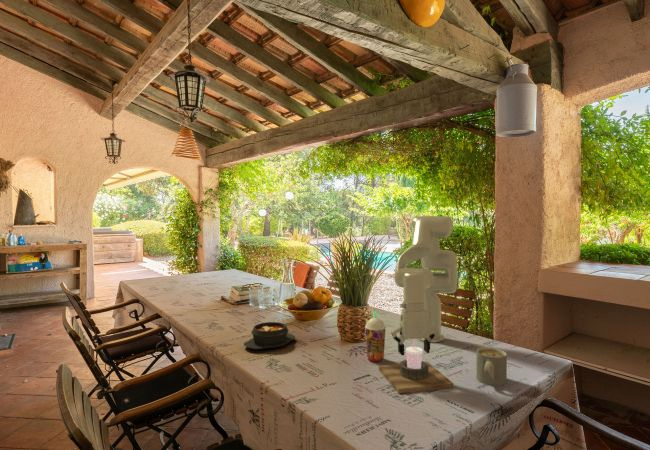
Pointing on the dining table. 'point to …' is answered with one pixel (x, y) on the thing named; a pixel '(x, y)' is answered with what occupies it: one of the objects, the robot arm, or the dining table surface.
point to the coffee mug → (491, 366)
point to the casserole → (269, 336)
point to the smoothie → (375, 339)
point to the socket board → (414, 384)
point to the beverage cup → (414, 357)
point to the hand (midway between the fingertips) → (414, 352)
